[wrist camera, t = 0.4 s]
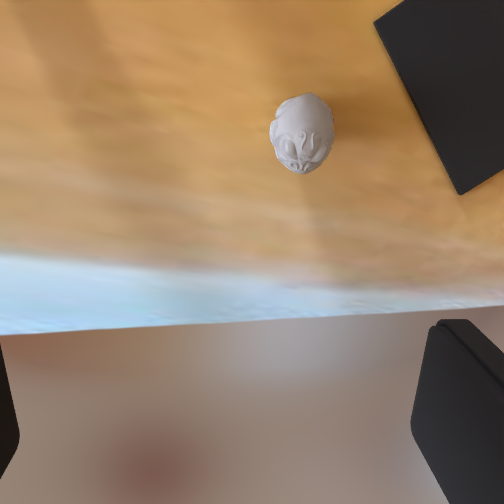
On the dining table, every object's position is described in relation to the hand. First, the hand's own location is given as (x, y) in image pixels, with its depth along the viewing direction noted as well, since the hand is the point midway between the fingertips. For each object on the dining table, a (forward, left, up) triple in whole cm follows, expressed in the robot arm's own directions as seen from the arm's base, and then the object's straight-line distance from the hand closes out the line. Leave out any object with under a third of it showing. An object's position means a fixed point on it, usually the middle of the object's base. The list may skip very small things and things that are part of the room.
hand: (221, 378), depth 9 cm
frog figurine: (+3, +7, -37) cm, 38 cm away
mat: (+9, +26, -36) cm, 46 cm away
